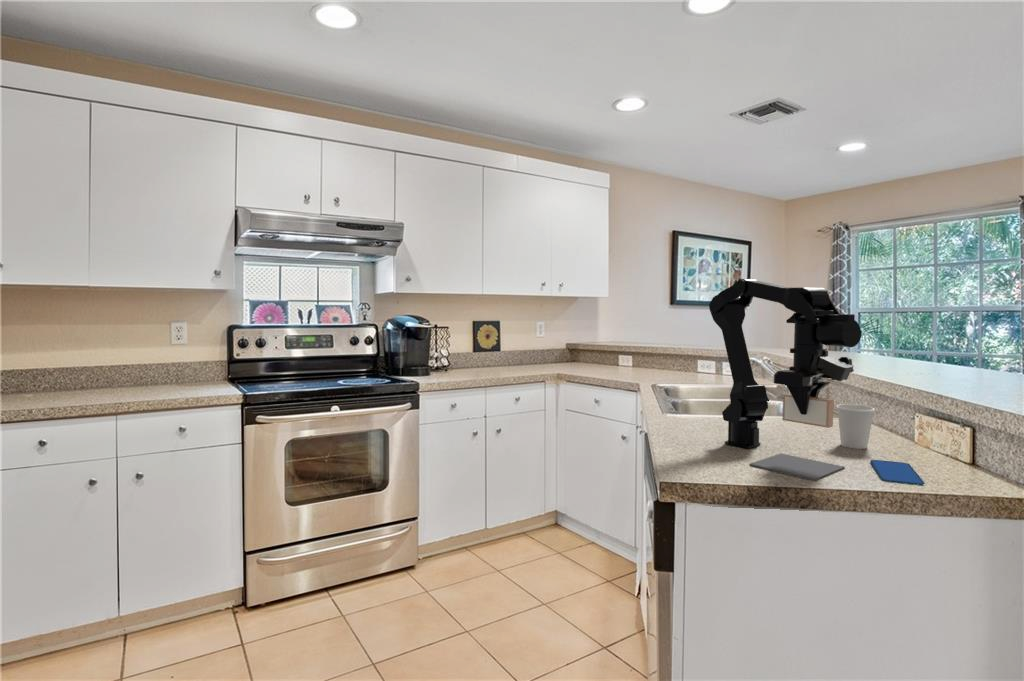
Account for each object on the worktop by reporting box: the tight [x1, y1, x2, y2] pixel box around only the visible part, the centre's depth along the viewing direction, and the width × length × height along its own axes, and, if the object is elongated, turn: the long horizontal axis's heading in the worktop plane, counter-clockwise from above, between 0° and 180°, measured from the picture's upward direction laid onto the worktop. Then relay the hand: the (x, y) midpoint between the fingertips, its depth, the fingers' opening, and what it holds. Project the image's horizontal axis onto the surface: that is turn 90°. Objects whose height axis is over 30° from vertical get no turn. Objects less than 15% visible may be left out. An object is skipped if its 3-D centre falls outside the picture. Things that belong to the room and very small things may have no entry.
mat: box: [749, 452, 846, 482], centre depth 122 cm, size 14×14×1 cm
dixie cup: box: [836, 403, 876, 450], centre depth 140 cm, size 8×8×10 cm
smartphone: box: [870, 459, 926, 486], centre depth 117 cm, size 7×1×15 cm
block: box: [782, 393, 835, 429], centre depth 123 cm, size 10×2×6 cm, turn 37°
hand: (806, 413), depth 124 cm, fingers closed on block, 2 cm apart
